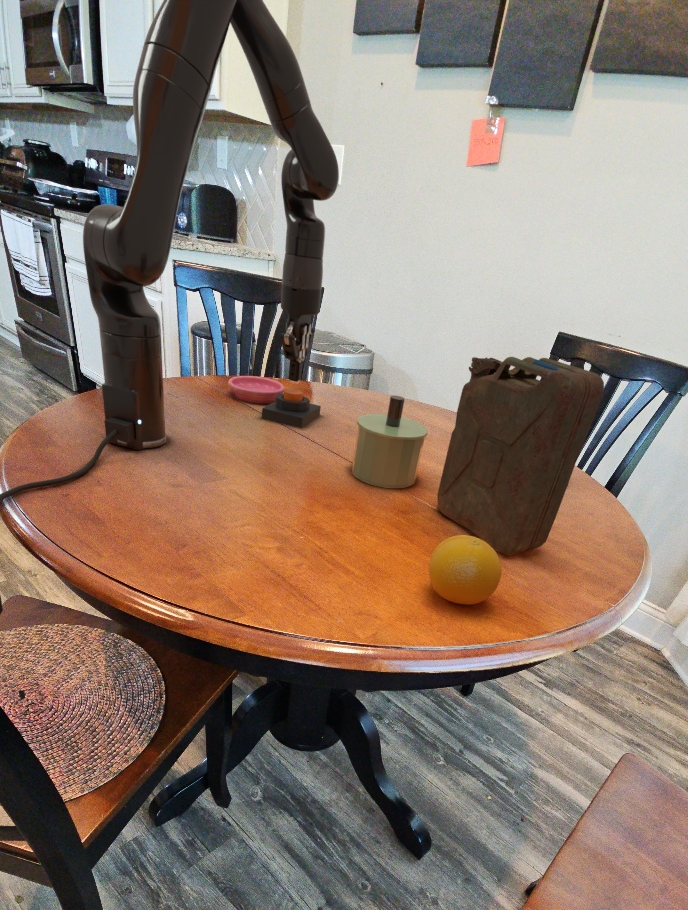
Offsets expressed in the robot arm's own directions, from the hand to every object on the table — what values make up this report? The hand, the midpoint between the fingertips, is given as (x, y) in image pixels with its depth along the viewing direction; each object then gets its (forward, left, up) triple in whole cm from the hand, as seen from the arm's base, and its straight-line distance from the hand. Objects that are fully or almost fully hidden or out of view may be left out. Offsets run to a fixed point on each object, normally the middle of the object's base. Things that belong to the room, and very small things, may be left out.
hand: (294, 380), depth 121 cm
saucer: (+8, +12, -8) cm, 16 cm away
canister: (-32, -46, -8) cm, 57 cm away
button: (0, 0, -4) cm, 4 cm away
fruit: (-55, -45, -8) cm, 72 cm away
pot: (-20, -26, -8) cm, 34 cm away
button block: (0, 0, -8) cm, 8 cm away
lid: (-20, -26, +1) cm, 33 cm away
